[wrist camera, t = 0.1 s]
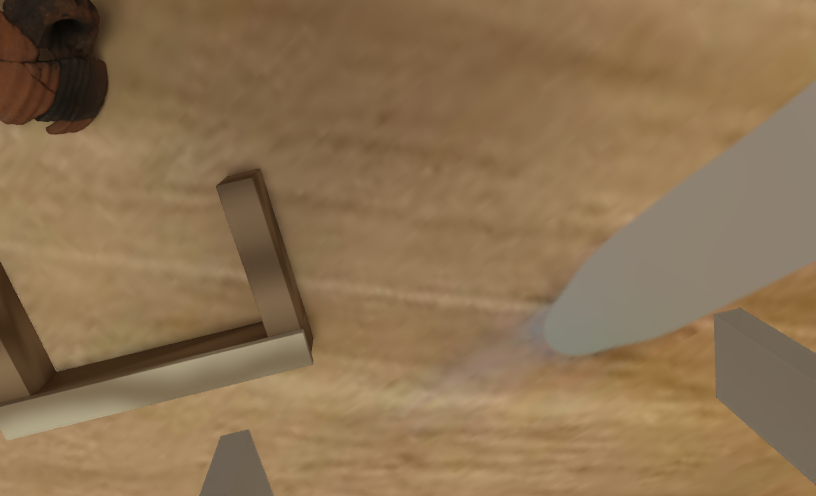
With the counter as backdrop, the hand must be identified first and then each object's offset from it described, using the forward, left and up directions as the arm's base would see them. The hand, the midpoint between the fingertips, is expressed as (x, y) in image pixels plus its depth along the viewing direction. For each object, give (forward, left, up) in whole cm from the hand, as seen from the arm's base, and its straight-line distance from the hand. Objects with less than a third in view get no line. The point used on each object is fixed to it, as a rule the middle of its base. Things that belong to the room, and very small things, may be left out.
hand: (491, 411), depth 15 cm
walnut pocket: (+3, -21, -28) cm, 35 cm away
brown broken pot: (-15, -21, -28) cm, 38 cm away
